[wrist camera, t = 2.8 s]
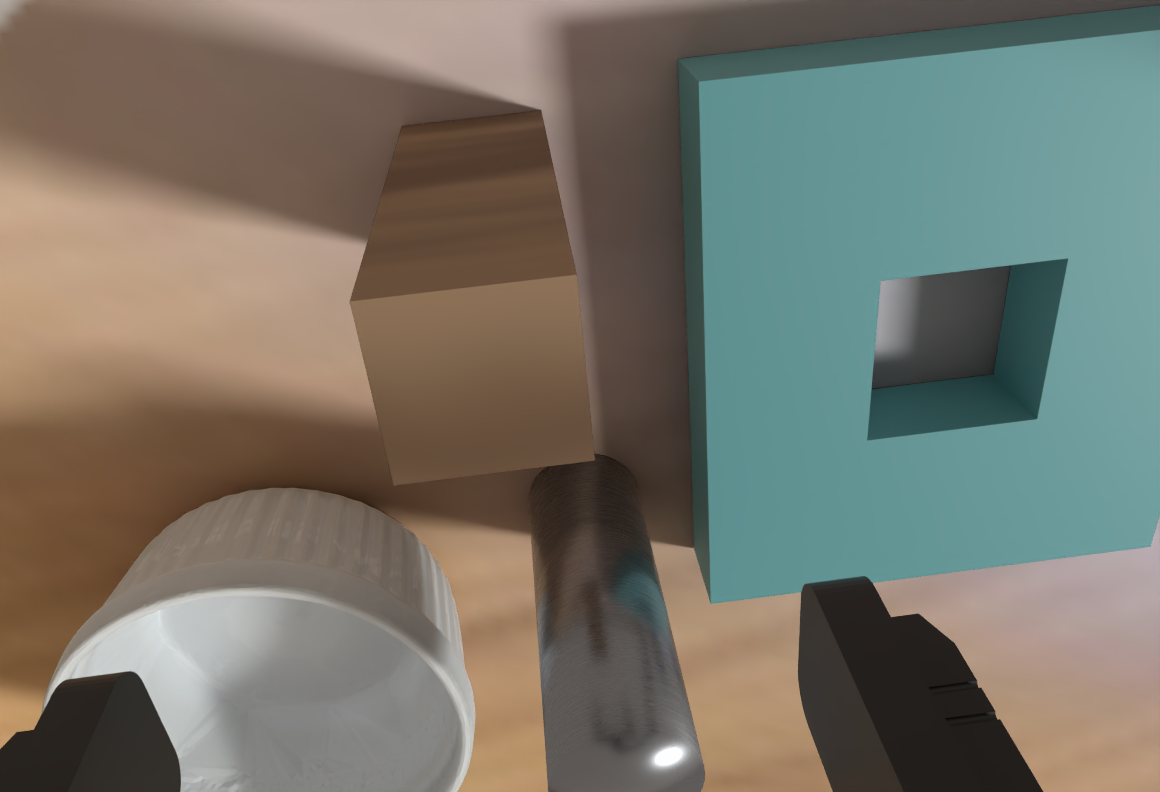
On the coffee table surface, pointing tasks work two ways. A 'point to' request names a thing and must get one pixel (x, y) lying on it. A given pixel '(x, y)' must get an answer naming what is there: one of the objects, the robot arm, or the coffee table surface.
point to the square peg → (473, 305)
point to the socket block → (909, 249)
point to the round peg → (606, 639)
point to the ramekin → (291, 648)
